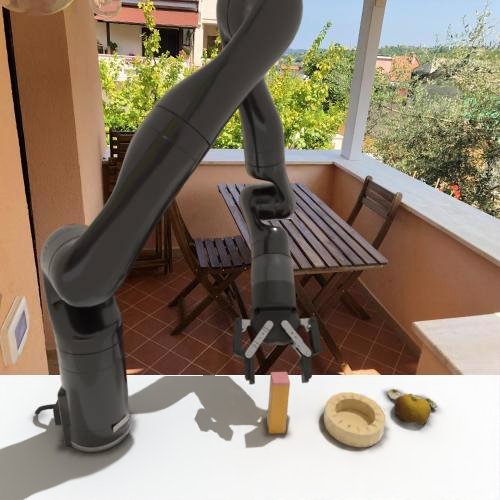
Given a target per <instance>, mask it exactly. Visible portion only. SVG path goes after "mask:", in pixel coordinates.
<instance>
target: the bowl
mask: <svg viewBox="0 0 500 500" xmlns="http://www.w3.org/2000/svg"><path fill="white" fill-rule="evenodd" d="M323 423H324V426H325V428H326V430H327V432H328V433H329V434H330V436H331V437H333V438H334V439H335V440H337V441H338V442H340V443H342V444H345V445H347V446H350V447H354V448H368V447H372V446H375V445H376V444H377V443H379V441H381V439H382V437H383V436H384V432H385V428H386V413H385V412H384V410H383V408H382V407H381V405H379V404H378V403H377V402H376V401H375V400H374V399H372V398H370V397H367V396H366V395H365V394H361V393H356V392H352V391H351V392H349V391H348V392H339V393H337V394H333V395H331V396H330V398H328V399H327V401H326V403H325V407H324V414H323Z"/></svg>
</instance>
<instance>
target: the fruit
mask: <svg viewBox="0 0 500 500" xmlns="http://www.w3.org/2000/svg"><path fill="white" fill-rule="evenodd" d="M387 394H388V397H389V398H390V399H392V400H394V405H393V410H394V414H395V416H396V418H397V419H398V420H399V421H400V422H402V423H409V424H418V425H420V426H423V425H424V424H426V423H427V421H428V420H429V418H430V415H431V410H432V409H435V408H438V405H437V403H436V402H435V401H434V400H432V399H430V398H429V397H428V398H423V397H422V396H420V395H418V394H413V393H400V392H399V390H398V389H395V388H394V389H392V388H391V389H389V390H388V391H387ZM430 405H432V406H434V407H432V409H431V406H430Z"/></svg>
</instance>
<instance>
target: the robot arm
mask: <svg viewBox="0 0 500 500" xmlns="http://www.w3.org/2000/svg"><path fill="white" fill-rule="evenodd" d="M215 12H216V13H215V17H216V18H215V19H216V25H217V30H218V34H219V38H220V44H221V47H222V50H221V51H220V52H219V53H218V54H217V55H216V56H215V57H213V58H212V59H211V60H210V61H209V62H207V63H206V64H205V65H203V66H202V67H200V68H198V69H196V71H194V72H192V73H191V74H189V75H187V76H186V77H185V78H183V79H181V80H180V81H179V82H177V83H176V84H175V85H173V86H171V87H170V88H169V89H168V90H167V91H165V92H164V93H163V94H162V96H161V97H160V98H159V99H158V100H157V101H156V103H155V104H154V105H153V107H152V108H151V109H150V110H149V112H148V114H147V115H146V117H145V118H144V119H143V120H142V122H141V123H140V125H139V126H138V127H137V129H136V130H135V133H134V134H133V136H132V138H131V139H130V142H129V144H128V147H127V149H126V152H125V155H124V159H123V162H122V165H121V167H120V171H119V173H118V177H117V180H116V183H115V185H114V188H113V190H112V193H111V194H110V196H109V198H108V199H107V201H106V203H105V204H104V206H103V207H102V208H101V209H100V211H99V212H98V214H97V215H96V216H95V218H93V220H92V221H91V223H90V224H89V225H88V224H84V223H70V224H69V223H68V224H66V225H63V226H61V227H59V228H57V229H55V230H54V231H53V232H52V233H50V234H49V236H48V237H47V238H46V240H45V241H44V243H43V245H42V247H41V251H40V270H41V279H42V283H43V289H44V295H45V301H46V306H47V311H48V312H47V313H48V317H49V321H50V325H51V328H52V331H53V337H54V344H55V348H56V356H57V357H56V358H57V363H58V370H59V375H60V376H59V377H60V383H61V385H60V388H59V389H58V391H57V395H56V396H57V400H56V402H55V403H52V404H51V403H50V404H44V405H41V406H39V407H38V408H36V410H35V411H34V415H36V416H39V414H41V412H43V411H47V410H52V412H53V419H54V425H55V426H61V429H62V436H63V442H64V446H72V447H73V448H74V449H76V450H77V451H81V452H84V453H99V452H103V451H108V450H109V449H112V448H114V447H115V446H117V445H119V444H120V443H121V442H123V441H124V440H125V438H127V436H128V435H129V433H130V431H131V428H132V418H131V411H130V399H129V386H128V385H129V384H128V374H127V373H128V371H127V359H126V347H125V334H124V320H123V316H122V315H123V314H122V313H121V310H120V307H119V305H118V302H117V299H116V295H115V294H117V293H118V291H119V290H120V289H121V287H122V286H123V285H124V283H125V282H126V280H127V279H128V277H129V275H130V273H131V271H132V270H133V268H134V266H135V264H136V262H137V261H138V259H139V257H140V255H141V253H142V251H143V249H144V247H145V246H146V244H147V243H148V240H149V239H150V237H151V235H152V233H153V232H154V230H155V229H156V227H157V225H158V224H159V222H160V221H161V219H162V218H163V217H164V215H165V214H166V212H167V211H168V210H169V208H170V207H171V205H172V204H173V203H174V201H175V199H176V198H177V196H178V195H179V193H180V191H181V190H183V188H184V186H185V184H186V183H187V182H188V181H189V179H190V177H191V176H192V175H193V174H194V173H195V171H196V170H197V169H198V167H199V166H200V164H201V163H202V162H203V160H204V159H205V157H206V156H207V154H208V153H209V151H210V150H211V149H212V147H213V145H214V144H215V143H216V141H217V139H218V137H219V136H220V135H221V133H222V132H223V131H224V128H225V127H226V126H227V124H228V123H229V122H230V121H231V119H232V118H233V116H234V115H235V114H236V112H237V111H238V115H239V121H240V127H241V135H242V146H243V157H244V158H243V159H244V166H245V172H246V173H247V175H248V176H249V177H251V178H252V179H255V180H259V181H264V182H267V183H252V184H247V185H245V186H244V187H243V188H242V190H241V191H240V192H239V197H238V204H239V205H238V206H239V209H240V212H241V215H242V217H243V219H244V222H245V225H246V228H247V231H248V235H249V243H250V261H251V265H250V281H249V285H250V292H251V296H250V297H251V318H250V319H245V318H244V319H242V318H241V316H237V317H236V318H234V321H233V334H232V335H233V336H232V355H233V357H235V358H239V359H242V361H243V363H244V365H243V367H244V380H245V381H246V382H248V385H255V383H256V380H255V379H256V377H255V376H256V374H255V373H256V372H255V358H253V357H254V355H255V353H256V352H257V350H258V349H259V347H260V346H261V345H262V344H263V345H265V346H267V347H271V346H274V345H278V346H286V345H290V347H291V349H293V350H295V351H296V353H297V354H298V355H299V356H300V358H301V359H299V367H300V375H301V376H300V378H301V384H308V383H309V382H310V380H311V379H312V377H313V368H312V357H314V356H316V355H318V354H320V353H321V352H322V350H323V347H322V342H321V335H320V330H319V324H318V318H317V317H316V316H314V315H312V316H310V317H308V318H307V317H306V318H300V317H299V315H298V309H297V297H296V285H295V274H294V273H295V272H294V268H293V263H292V255H291V244H290V243H291V242H290V235H289V233H288V231H287V230H286V229H285V228H283V227H282V226H281V227H280V226H276V225H271V224H267V223H264V222H273V221H285V220H289V219H290V218H291V217H292V216H293V215H294V214H295V211H296V208H297V200H296V196H295V192H294V189H293V187H292V184H291V181H290V179H289V176H288V172H287V166H286V157H285V156H286V151H285V150H286V149H285V148H286V147H285V130H284V126H283V121H282V118H281V115H280V113H279V110H278V108H277V105H276V104H275V101H274V98H273V96H272V95H271V92H270V90H269V88H268V85H267V82H266V78H265V76H266V75H267V73H269V71H270V70H271V69H272V68H273V67H274V65H275V64H276V63H277V62H278V61H279V59H280V58H282V56H283V55H284V54H285V53H286V51H287V50H288V49H289V47H290V46H291V45H292V43H293V41H294V40H295V38H296V37H297V33H298V32H299V30H300V27H301V24H302V20H303V14H304V0H216V5H215ZM249 327H250V329H251V331H252V332H253V333H254V334H255V338H254V339H253V340H252V342H251V344H250V345H249V347H248V348H247V349H245V348H242V338H243V337H242V335H243V334H244V333H246V331H247V329H248V328H249ZM300 327H302V328H303V330H304V331H305V332H307V334H308V335H307V336H308V340H309V341H308V342H309V346H307V344H306V343H305V342H304V340H303V338H302V337H301V336H300V335H299V334H298V330H299V329H300Z"/></svg>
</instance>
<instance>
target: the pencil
mask: <svg viewBox="0 0 500 500" xmlns="http://www.w3.org/2000/svg"><path fill="white" fill-rule="evenodd" d="M289 377H290V376H289V374H288V372H287V371H270V378H269V391H268V403H267V420H266V424H267V429H268V433H269V435H271V434H273V435H274V434H285V433H286V428H287V417H288V408H289V396H290V385H291V382H290V378H289Z"/></svg>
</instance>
